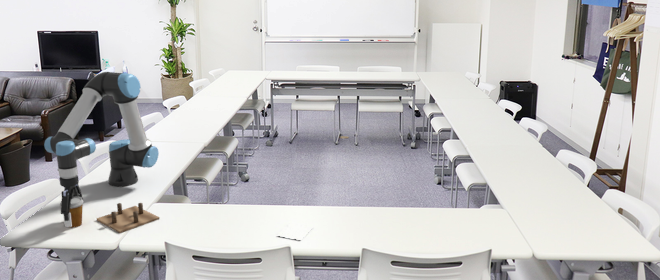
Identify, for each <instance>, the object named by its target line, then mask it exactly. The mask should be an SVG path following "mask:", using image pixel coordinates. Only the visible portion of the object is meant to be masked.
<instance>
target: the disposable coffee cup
mask: <svg viewBox="0 0 660 280" xmlns="http://www.w3.org/2000/svg"><path fill="white" fill-rule="evenodd" d="M61 202H62V200H61V201H60V204H59V206H60V207H61ZM83 204H84V199H83V200H82V197H73V198H72V199H71V205H70V211H69V213H70V214H71V222H72V227H69V228H72V229H73V228H78V227H80V226H81V225H83V206H84V205H83Z"/></svg>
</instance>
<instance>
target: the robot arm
mask: <svg viewBox="0 0 660 280" xmlns="http://www.w3.org/2000/svg"><path fill="white" fill-rule="evenodd" d="M140 89H141V83H140V81H139V78H138V77H137V76H136V75H135V74H132V73H127V72H112V71H103V72H100V73H98V74H96V75H94V77H92V78H91V79H90V80H89V81H88V82H87V83H86V84H85V85H84V87H83V89H82V90H81V91H82V94H81V95H80V97H79V99H78V100H77V102H76V103H75V105H74V106H73V107H72V109H71V110H70V113H69V114H68V115H67V117H66V119H64V122H63V123H62V125H61V126H60V127H59V129H58V131H57V133H56V134H55V136H54V135H53V136H48V137H47V138H46V139H45V140H44V145H43V146H44V149H45V150H46V152H47V153H51V154H54V155H56V161H57V172H58V176H59V185H60V186H61V187H63V188H64V190H62V191H61V201H62V202H61V201H60V203H61V206H60V214H61V215H62V216H63V222H64V227H65V228H70V227H72V222H71V214H70V213H69V211H70V205H71V199H72V198H73V197H81V198H82V200H83V201H84V197H83V194H82V191H81V188H80V185H79V183H80V182H79V175H78V174H79V172H78V171H79V170H78V163H77V161H78V160H81V159H82V158H85V157H88V156H90V155H92V154H94V153H95V151H96V150H97V146H96V142H95V141H94V140H93V139H92V138H89V137H87V138H82V139H75V138H76V136H77V134H78V133H79V132H80V130H81V128H82V127H83V125H84V124H85V122H86V120H87V118H88V117H89V115H90V114H91V112H92V111H93V109H95V108H94V107H95V106H96V104H97V103H98V102H101V101H102V99H103V98H104V97H105V96H110V97H112V98H113V103H114V104H117V105H118V107H119V111H120V113H121V117H122V121H123V124H124V126H125V130H126V133H127V137H128V139H119V140H116V141H112V142H110V143H109V145H108V155H109V163H110V171H109V175H108V184H109V185H110V186H112V187H113V186H114V187H126V186H131V185H134V184H136V183H137V182H138V181H139V176H138V173H137V171H136V169H135V167H140V168H148V169H149V168H152V167H154V166H155V165H156V164H157V161H158V158H159V153H160V152H159V149H158V146H156V145H153V144H152V141H151V140H150V138H148V137H147V133H146V132H145V128H144V124H143V120H142V117H141V113H140V110H139V106H138V102H137V100H138V98H139V95H140V93H141V90H140Z"/></svg>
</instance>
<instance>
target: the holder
mask: <svg viewBox="0 0 660 280" xmlns="http://www.w3.org/2000/svg"><path fill="white" fill-rule="evenodd" d="M137 205H138V206H137ZM137 205H133V206H130V207H128V208H124V209H123V205H122V203H121V202H118V203H116V206H117V207H116V209H117V211H115V210H114V211H111V213H109V214H106V215H103V216H99V217H96V221H97V222H99V223H101V224H103V225H104V226H106V227H108V228H110V229H111V230H113V231H114V232H116V233H119V234H122V233H125V232H128V231H130V230H133V229H136V228H139V227H142V226H145V225H147V224H150V223H153V222H155V221H159V220H160V217H159V216H157V215H156V214H154V213H151V212H149V211H147V210H145V209H144V205H143V202H138V203H137Z"/></svg>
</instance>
